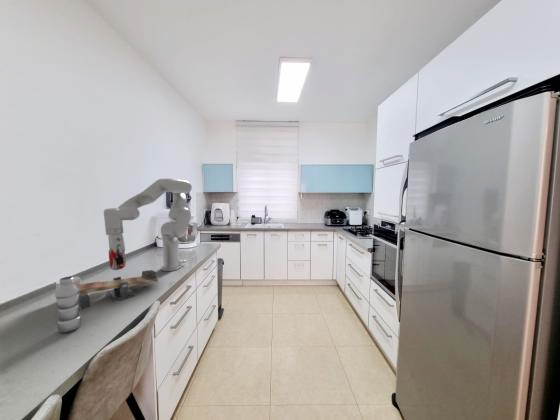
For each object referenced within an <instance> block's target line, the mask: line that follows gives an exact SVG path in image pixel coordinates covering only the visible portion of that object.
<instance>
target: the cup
mask: <svg viewBox="0 0 560 420" xmlns="http://www.w3.org/2000/svg"><path fill="white" fill-rule="evenodd" d="M73 277H74V282H73V283H74V284H75V285H79V284H82V281H81V277H80V276H73ZM60 286H61V285H60V279H58V280H56V282H55V293H56V292H57V290H58V289H59V287H60ZM79 295H80V294H79Z"/></svg>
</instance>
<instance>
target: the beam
mask: <svg viewBox="0 0 560 420" xmlns="http://www.w3.org/2000/svg"><path fill="white" fill-rule="evenodd" d="M158 281H159V279H158V277H157V272H156V271H154V269H149V270H142V272H141V276H136V277H128V278H121V279H120V280H113V279H112V280H107V281H106V280H105V281H95V282H94V281H93V282H88V283H81V284H79V285H77V286H78V287H79V289H80V293H79V294H85V293H87V294H89V293H95V292H101V291H109V290H112V289H114V288H120V284H121V283H125V282H128V287H132V286H137V285H143V284H149V283H157V282H158Z"/></svg>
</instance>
